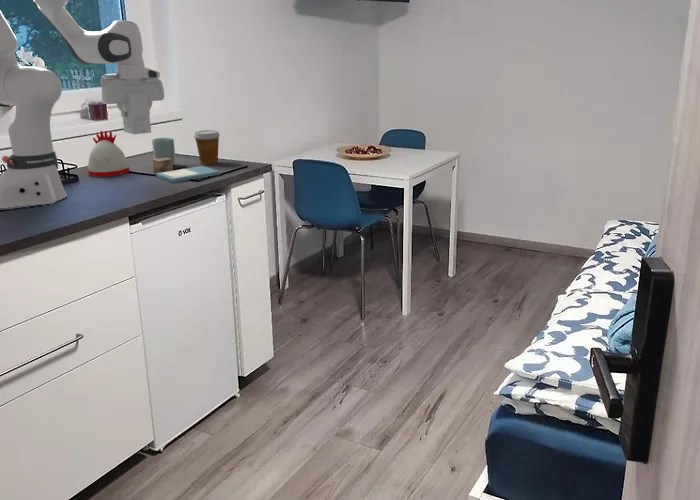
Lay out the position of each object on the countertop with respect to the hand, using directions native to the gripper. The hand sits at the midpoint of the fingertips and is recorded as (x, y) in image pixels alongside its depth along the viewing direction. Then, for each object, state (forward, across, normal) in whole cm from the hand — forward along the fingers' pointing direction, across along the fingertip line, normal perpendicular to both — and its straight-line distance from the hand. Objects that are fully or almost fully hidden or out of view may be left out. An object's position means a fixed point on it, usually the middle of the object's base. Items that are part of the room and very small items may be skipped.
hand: (135, 116), depth 212 cm
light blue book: (+21, +14, -7) cm, 26 cm away
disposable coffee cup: (+21, +30, +7) cm, 37 cm away
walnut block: (+21, +10, +4) cm, 24 cm away
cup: (+21, +16, +15) cm, 30 cm away
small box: (+6, 0, 0) cm, 6 cm away
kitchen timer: (+22, -4, +19) cm, 29 cm away
